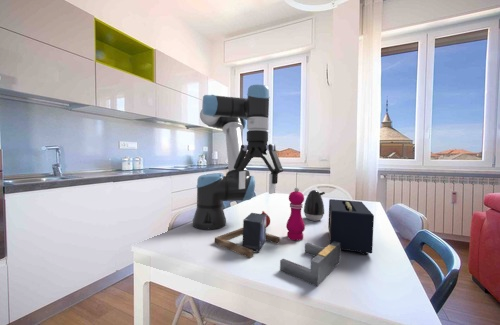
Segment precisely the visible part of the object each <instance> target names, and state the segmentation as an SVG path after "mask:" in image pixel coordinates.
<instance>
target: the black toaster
mask: <svg viewBox="0 0 500 325" xmlns="http://www.w3.org/2000/svg"><path fill="white" fill-rule="evenodd" d="M374 220H375V215H374V214H373V212H372V211H370V209H369V208H368V207H367V206H366V205H365V204H364V203H363V202H362V201H359V200H345V199H334V198H329V199H328V222H327V223H328V224H327V225H328V237H329V245H330V244H331V243H333V242H334V241H335V242H339V243H341V247H340V250H346V251H351V252H359V253H360V254H362V255H367V254H372V253H373V245H374V243H373V242H374V222H375V221H374Z"/></svg>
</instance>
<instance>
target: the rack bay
mask: <svg viewBox="0 0 500 325" xmlns="http://www.w3.org/2000/svg"><path fill="white" fill-rule="evenodd" d="M340 247H341V243H339V242H335V241H334V242H333V243H331V244H330V243H329V244H328V245H327V246H326V247H323V246H319V245H316V244H313V243H309V242H306V243H304V253H305V254H307V255H309V256H310V255H311V256H313V258H312V259H311V260H310V268H309V267H307V266H304V265H301V264H299V263H296V262H293V261H291V260H288V259H285V258H281V259H280V260H279V262H280V263H279V265H280V266H279V271H280V272H281V273H284V274H286V275H289V276H291V277H294V278H295V279H298V280H301V281H303V282H305V283H308V284H310V285H313V286H315V287H319V286H320V284H322V282H323V281H324V280H326V278H327V277H328V276H330V274H331V272H332V271H333V270H334V269H335V268H336V267H337V266H338V265H339V264H340V262H341V249H340Z"/></svg>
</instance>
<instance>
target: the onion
mask: <svg viewBox="0 0 500 325" xmlns="http://www.w3.org/2000/svg"><path fill="white" fill-rule="evenodd" d="M261 214H265V215H266V229H267V228H268V227H269V226H270V225H271V218H270V216H269V215H268V213H266V212H265V211H264V210H262V212H261Z"/></svg>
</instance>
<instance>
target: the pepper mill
mask: <svg viewBox="0 0 500 325" xmlns="http://www.w3.org/2000/svg"><path fill="white" fill-rule="evenodd" d="M288 200H289V202H290V203H289V208H290V215H289V217H288V220H287V222H286V226H285V227H286V230H287V234H286V238H288V239H289V240H290V241H302V240H303V239H304V233H303V232H304V231H305V229H306V225H305V222H304V219H303V216H302V209H304V204H303V202H304V201H305V196H304V194H303V193H302V192H301V191H300V188H299V187H294V191H292V192H290V193H289V195H288Z"/></svg>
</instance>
